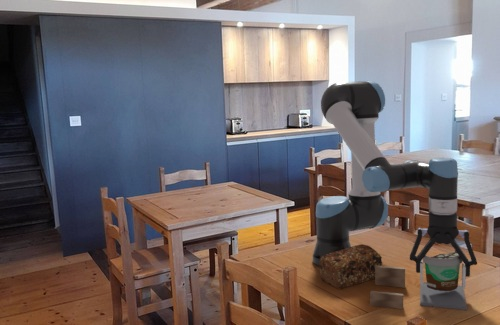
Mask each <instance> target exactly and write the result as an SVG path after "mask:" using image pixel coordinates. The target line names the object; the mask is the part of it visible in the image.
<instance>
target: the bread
mask: <svg viewBox="0 0 500 325" xmlns="http://www.w3.org/2000/svg"><path fill="white" fill-rule="evenodd" d="M375 265H376V266H383V261H382V256H381V254H380V253H378V251H377V250H375V249H374V248H373V247H372V246H370V245H368V244H357V245H353V246H352V245H351V247H350V248H346V249H342V250H339V251H336V252H332V253H329V254H326V255H324V256H322V258H321V259H320V266H319V273H320V278H321V280H322V281H324V282H325V283H326V284H330V285H331V286H332V287H334V288H336V289H338V290H341V289H344V288H347V287H350V286H351V287H352V286H354V285H358V284H362V283H365V282H366V281H368V282H369V281H372V280H375Z"/></svg>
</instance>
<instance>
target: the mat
mask: <svg viewBox="0 0 500 325" xmlns="http://www.w3.org/2000/svg"><path fill="white" fill-rule="evenodd" d="M419 289H420V292H419V293H420V295H419V296H420V297H419V298H420V299H419V300H420V303H419V304H420V306H422V307H423V306H424V307H432V306H433V307H435V308H443V309H444V308H445V309H454V310H461V311H462V310H463V311H464V310H465V311H467V310H468V308H467V302H466V296H465V292H464V289H463V288H462V285H458V287H457V289H455V290H452V291H439V290H434V289H430V288H428V287H427V282H424V281H423V285H420V288H419ZM433 307H432V308H433Z"/></svg>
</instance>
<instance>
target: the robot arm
mask: <svg viewBox="0 0 500 325" xmlns="http://www.w3.org/2000/svg"><path fill="white" fill-rule="evenodd" d="M385 106H386V95H385V92H384V90H383V87H381V85H380V84H379V83H377V82H375V81H371V80H370V81H368V80H363V81H361V80H360V81H338V82H335V83H332V84H331V85H330V86H328V87H327V88H326V89H325V91H323V94H322V96H321V100H320V109H321V113H322V115H323V118H324V119H326V122H327V123H329V124H331V125H333V127H334V128H335V130H336V131H337V133H338V134H339V135H340V137H341V139H342V140H343V142H344V143H345V145H346V146H347V148H348V150H349V151H350V154H351V155H350V156H351V182H352V183H351V184H352V185H351V186H352V188H351V190H349V192H348V196H344V195H336V196H335V195H333V196H328V197H324V198H321V199H320V200H319V201H318V202H317V203H316V206H315V222H316V223H315V225H316V226H315V227H316V243H315V246H314V249H313V253H312V263H313V264H314V265H316V266H318V267H320V259H321V258H322V256H324V255H326V254H329V253H332V252H336V251H339V250H342V249H346V248H350V247H352V245H351V242H350V232H356V231H361V230H366V229H367V230H368V229H370V230H371V229H375V228H378V227H381V226H382V225H383V224H384V223H385V222H386V221H387V219H388V215H389V214H388V213H389V206H388V203H387V200H386V199H385V197H384V196H382V195H381V193H385V192H388V191H396V190H403V189H409V188H410V189H411V188H422V189H423V188H424V189H428V210H429V212H428V227H427V228H422V227H417V236H416V238H415V240H414V242H413V246H412V248H411V251H410V254H409V260H410V261H412V262H414V263H415V272H416V273H417V274H419V277H420V278H419V285H420V286H421V285H423V282H424V263H423V258H424V256H427V254H428V252H429V251H430V250H431V248H432V247H433V246H434V245H435V244H437V245H441V244H444V245H451V246H452V248H453V249H454V251H455V250H456V252H457V253H458V255H459V256H460V258H461V259H462V263H461V286H462V288H463V290H464V289H466V285H467V284H466V282H467V281H466V279H467V277H470V275H471V266H476V265H477V264H478V261H477V258H476V254H475V252H474V250H473V247H472V244H471V242H470V233H469V230H468V229H464V230H463V229H462V230H459V229H458V214H457V211H458V180H459V179H458V178H459V172H458V161H457V160H456V159H454V158H451V157H433V158H431V159H429V161H428V162H425V161H423V162H422V161H419V160H406V161H405V160H404V162H402V163H397V164H396V163H394V164H391V163H390V162H389V161H388V159H387V158H386V157H385V155H384V154H383V153H382V151H381V150H380V149H379V147H378V146H377V145H376V138H375V137H376V134H375V130H376V129H375V128H376V127H375V123H376V122H377V120H379V115H380V113H381V112H382V111H383V110H384V107H385ZM426 234H428V236H429V237H430V238H429V239H428V241H427V243H425V245H424V246H423V248H422V249H421V251H420V252H419V253H418V255H417V252H418V249H419V246H420V244H421V241H422V238H423V237H425V235H426ZM458 235H459V236H460V237H461V239H463V241H464V243H465V245H466V249H467V252H468V254H469V257H470V259H469V258H468V257H467V256H466V254H465V252H464V251H463V249H462V248H461V247H460V246H459V244H458V242H457V241H456V238H457V237H458ZM416 255H417V256H416Z"/></svg>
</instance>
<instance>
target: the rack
mask: <svg viewBox="0 0 500 325" xmlns="http://www.w3.org/2000/svg"><path fill="white" fill-rule="evenodd" d="M374 282H375V283H374V285H375V286H381V287H382V286H385V287H392V288H393V287H396V288H405V289H406V267H398V266H387V265H382V266H376V265H375V279H374ZM369 306H370V307H381V308H389V309H397V310H398V309H399V310H404V293H397V292H389V291H388V292H386V291H377V290H370V292H369Z"/></svg>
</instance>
